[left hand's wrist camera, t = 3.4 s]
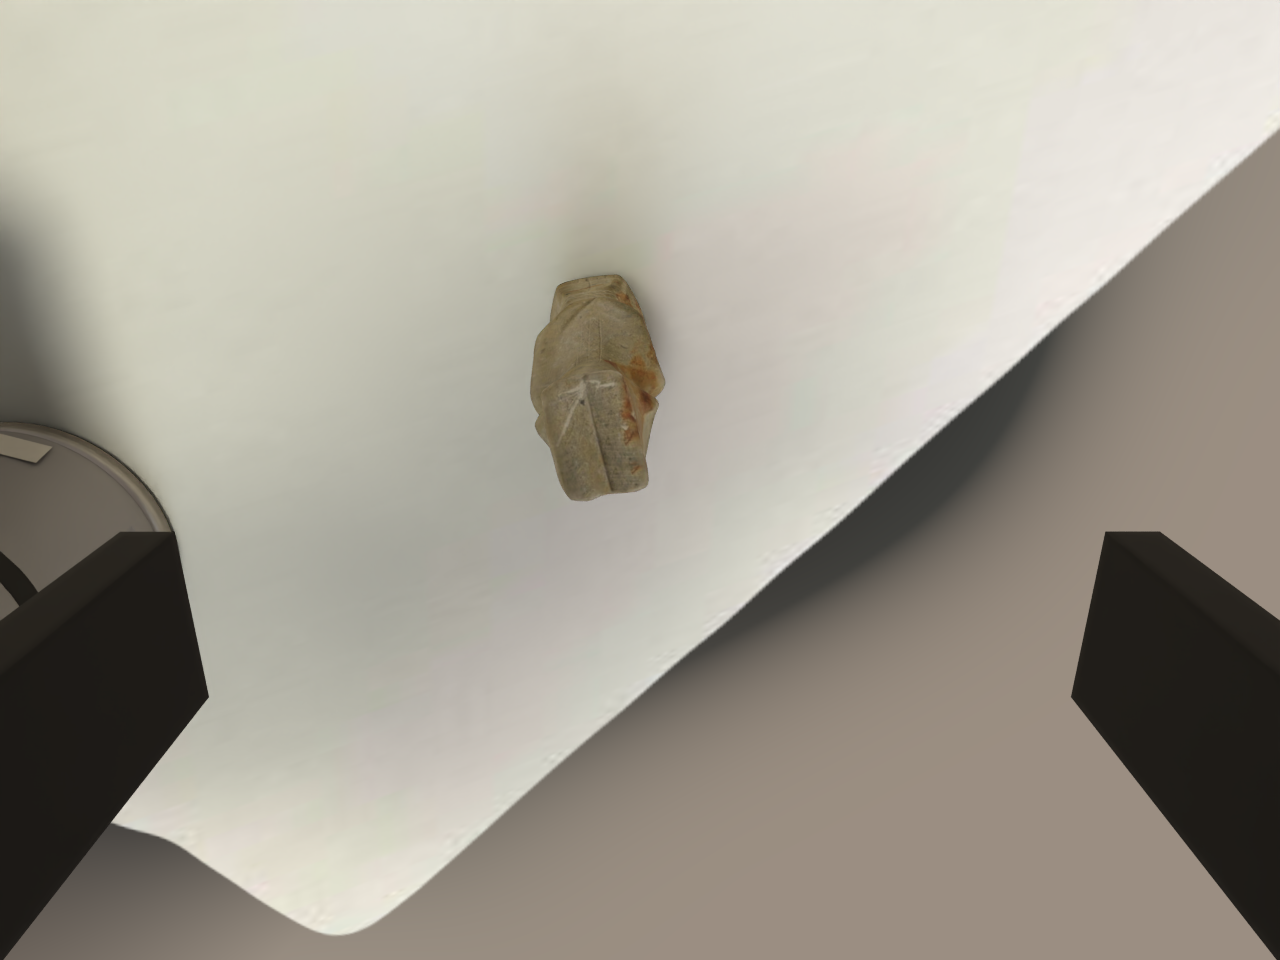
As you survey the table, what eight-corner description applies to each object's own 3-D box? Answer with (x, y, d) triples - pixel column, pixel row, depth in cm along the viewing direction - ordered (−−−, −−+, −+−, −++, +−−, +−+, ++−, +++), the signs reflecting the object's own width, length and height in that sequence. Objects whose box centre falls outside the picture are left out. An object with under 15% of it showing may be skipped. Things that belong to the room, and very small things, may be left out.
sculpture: (560, 410, 47) (527, 521, 33) (538, 276, 45) (492, 335, 31) (667, 397, 47) (678, 504, 33) (651, 261, 45) (657, 315, 31)
